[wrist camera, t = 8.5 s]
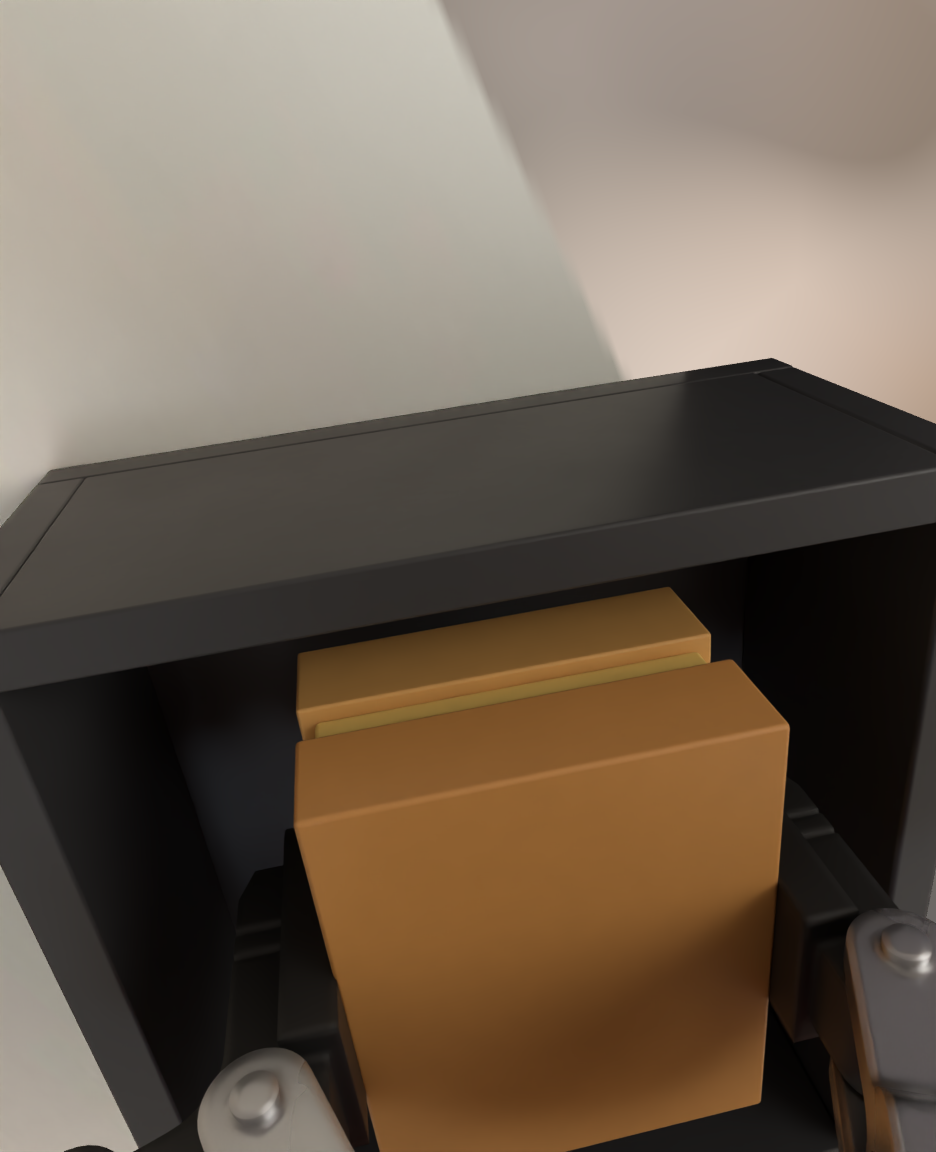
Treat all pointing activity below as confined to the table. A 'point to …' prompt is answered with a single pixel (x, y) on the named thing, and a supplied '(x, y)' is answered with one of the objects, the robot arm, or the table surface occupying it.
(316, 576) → the open black box
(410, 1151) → the sandwich
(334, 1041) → the robot arm
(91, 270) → the table surface
